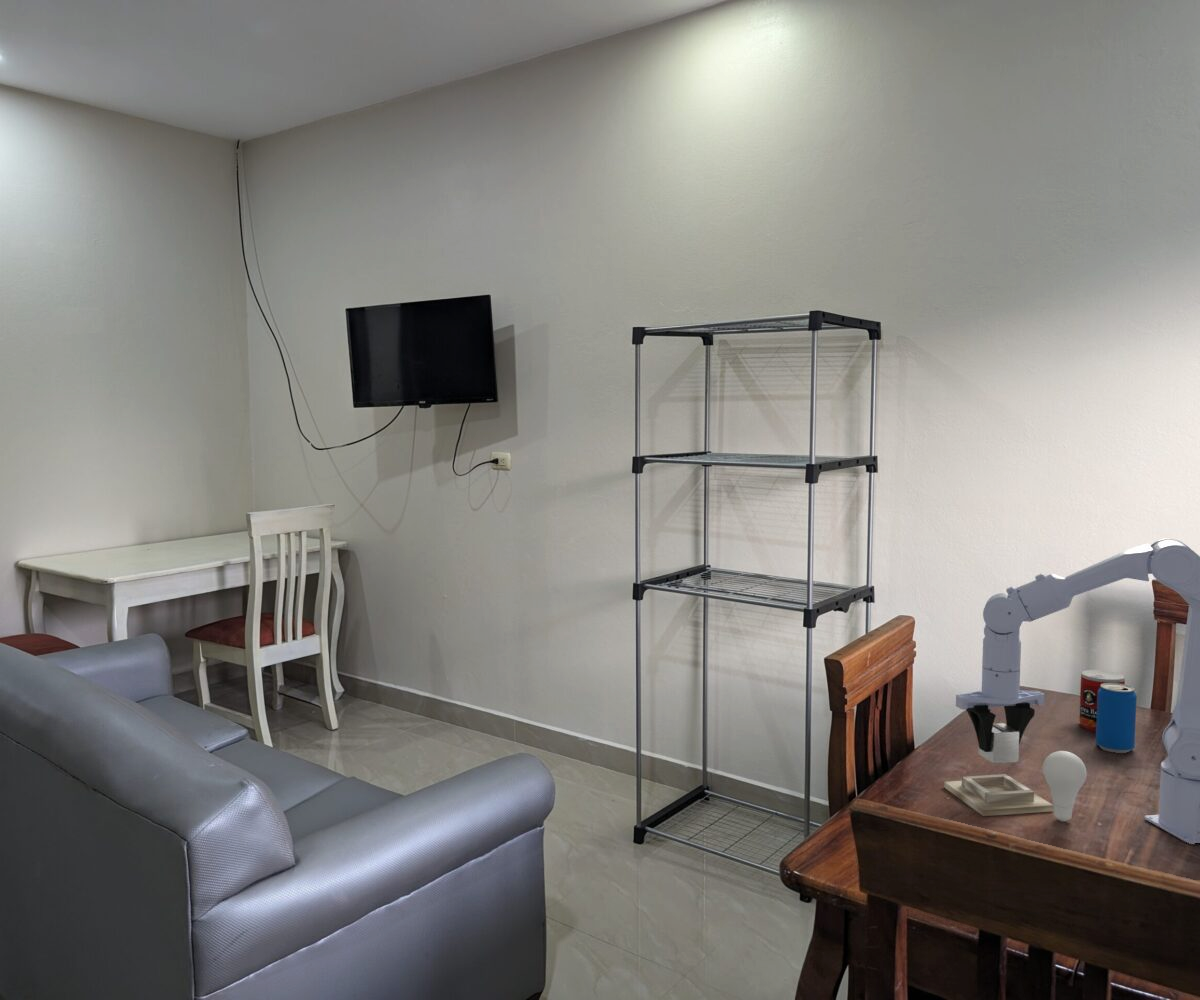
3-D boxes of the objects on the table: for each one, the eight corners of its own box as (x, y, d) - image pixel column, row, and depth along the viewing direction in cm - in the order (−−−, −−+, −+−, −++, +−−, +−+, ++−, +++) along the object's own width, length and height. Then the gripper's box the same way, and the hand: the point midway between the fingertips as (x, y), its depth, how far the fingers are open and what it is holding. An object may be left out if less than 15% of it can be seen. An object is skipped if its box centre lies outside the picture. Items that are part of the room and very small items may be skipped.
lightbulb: (1071, 812, 150) (1074, 745, 149) (1092, 828, 144) (1095, 758, 143) (1033, 813, 150) (1036, 745, 149) (1053, 829, 144) (1055, 759, 143)
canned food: (1070, 724, 194) (1072, 672, 194) (1097, 719, 198) (1099, 667, 197) (1104, 735, 187) (1106, 681, 187) (1131, 730, 191) (1133, 676, 190)
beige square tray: (1052, 811, 151) (1053, 796, 150) (983, 816, 149) (983, 800, 149) (1009, 783, 162) (1009, 769, 162) (944, 787, 161) (944, 773, 160)
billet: (1018, 761, 153) (1019, 730, 153) (993, 763, 153) (994, 731, 152) (1002, 752, 158) (1003, 722, 157) (978, 753, 157) (979, 723, 157)
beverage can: (1139, 755, 176) (1142, 692, 175) (1101, 753, 177) (1104, 690, 176) (1127, 744, 182) (1130, 683, 181) (1091, 742, 184) (1093, 681, 183)
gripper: (1027, 660, 159) (1024, 738, 160) (947, 663, 157) (944, 743, 158) (1053, 670, 152) (1050, 753, 153) (969, 674, 150) (967, 758, 151)
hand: (998, 749), depth 155 cm, fingers closed on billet, 4 cm apart
